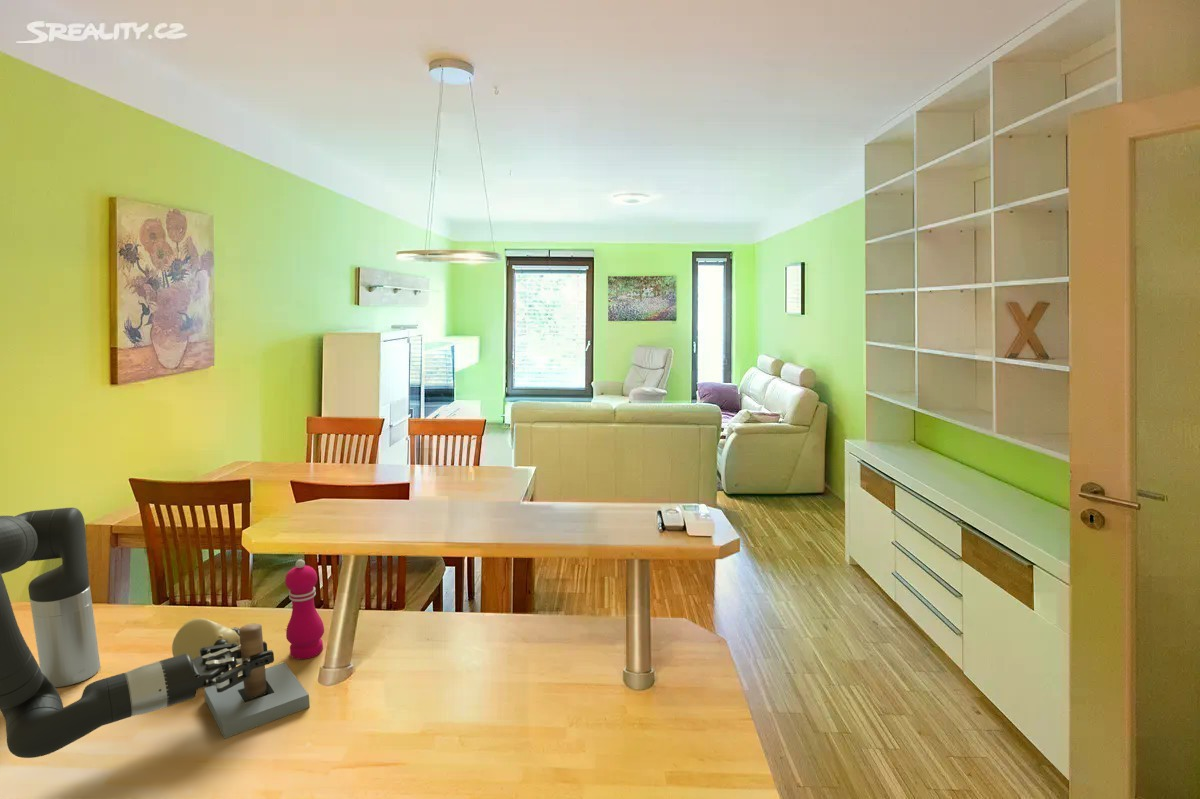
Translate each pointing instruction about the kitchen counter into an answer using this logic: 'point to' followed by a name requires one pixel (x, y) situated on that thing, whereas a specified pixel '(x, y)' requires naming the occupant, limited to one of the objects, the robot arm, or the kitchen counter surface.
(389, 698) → the kitchen counter surface
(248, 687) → the pin
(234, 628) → the beige animal figure
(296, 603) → the pepper mill
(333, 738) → the kitchen counter surface
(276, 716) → the socket
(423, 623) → the kitchen counter surface
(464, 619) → the kitchen counter surface
